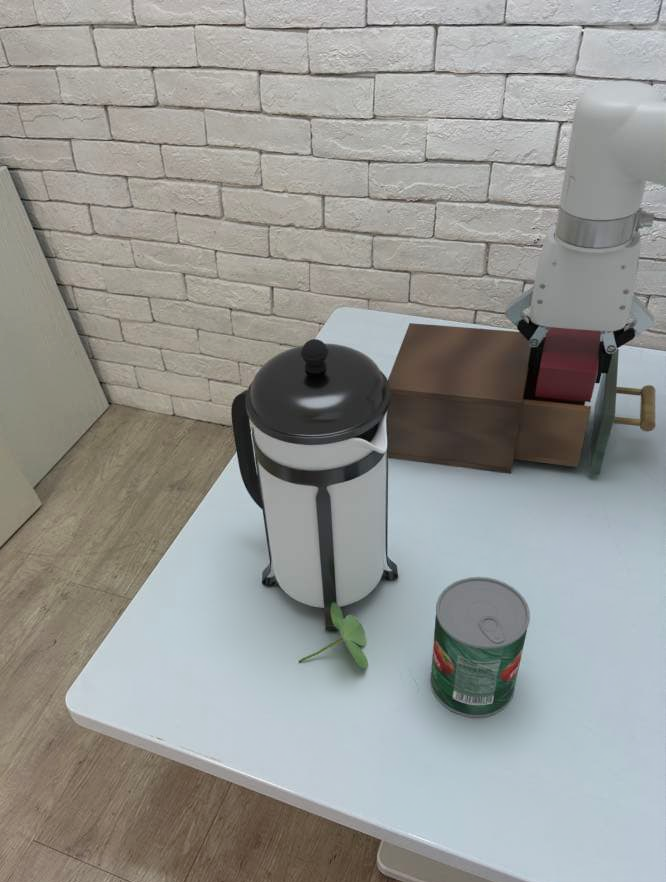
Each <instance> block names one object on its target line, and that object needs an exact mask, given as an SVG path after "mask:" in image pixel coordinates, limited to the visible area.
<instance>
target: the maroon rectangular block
mask: <svg viewBox="0 0 666 882" xmlns="http://www.w3.org/2000/svg"><path fill="white" fill-rule="evenodd" d="M601 340H602V336H601V332H600V331H591V330H578V329H565V328H553V327H551V328H550V329H549V331H548V332H547V334H546V335H545V343H544V349H543V352H542V357H541V363H540V369H539V374H538V380H537V386H536V392H535V396H537V397H546V398H556V399H565V400H575V401H584V402H585V403H590V402H591V401H592V398H593V394H594V390H595V385H596V383H595V381H596V377H597V371H598V359H599V347H600V341H601Z"/></svg>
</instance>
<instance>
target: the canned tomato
mask: <svg viewBox="0 0 666 882" xmlns="http://www.w3.org/2000/svg"><path fill="white" fill-rule="evenodd" d="M530 621H531V612H530V608H529V605H528V602H527V601H526V599H525V597H524V596H523V595H522V594H521V593H520V592H519V591H518V590H517V589H516V588H514V587H513V586H511V585H510V584H508V583H506V582H504V581H502V580H498V579H495V578H490V577H483V576H475V577H474V576H473V577H466V578H461V579H459V580H457V581H454V582H452V583H451V584H449V585H447V586H446V587H445V588H444V589H443V590H442V592H441V593H440V595H439V596H438V598H437V601H436V604H435V622H434V632H433V645H432V655H431V656H432V658H431V668H430V669H431V670H430V675H429V682H430V688H431V690H432V693H433V695H434V696H435V698H436V699H437V701H438V702H439V703H440V704H441V705H442V706H443V707H445V708H446V709H448V710H449V711H451V712H453V713H455V714H457V715H460V716H464V717H469V718H487V717H491V716H493V715H495V714H498V713H500V712H501V711H502V710H504V709H505V708H506V707H507V706H508V705H509V704H510V702H511V701H512V699H513V697H514V693H515V687H516V683H517V678H518V674H519V669H520V665H521V661H522V656H523V651H524V646H525V641H526V638H527V637H526V636H527V633H528V628H529V625H530Z"/></svg>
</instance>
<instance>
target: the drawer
mask: <svg viewBox="0 0 666 882" xmlns="http://www.w3.org/2000/svg"><path fill="white" fill-rule="evenodd" d="M619 350H620V349H619V348H617V351H616V352H615V353H613V354H612V358H611V363H610V367H609V371H608V374H606V373H602V375H601V379H600V383H599V384H598V385H599V386H598V390H597V395H596V399H595V403H594V408H593V419H592V430H591V443H590V452H589V453H590V455H589V464H588V465H589V467H588V475H592V476H600V475H601V471H602V466H603V463H604V460H605V455H606V452H607V448H608V444H609V440H610V436H611V432H612V428H613V424H615V425H616V424H617V425H624V426H625V425H626V426H635V427H639V428H640V430H641V431H643V432H652V431H653V430H654V429H655V428H656V410H657V409H656V407H657V406H656V405H657V404H656V403H657V401H656V399H657V397H656V388H655V387H654V386H653V385H650V384H648V385H644V386H643V387H642V388H635V387H634V388H633V387H625V386H618V369H619V368H618V367H619V353H620V352H619ZM533 370H534V367H530V366H529V370H528V375H527V381H526V386H525V392H524V397H523V402H522V409H521V415H520V421H519V428H518V434H517V441H516V447H515V453H514V460H516V461H517V460H519V461H524V462H525V461H526V462H535V463H542V464H549V465H550V464H551V465H558V466H567V467H575V468H578V467H579V463H580V458H581V455H582V450H583V445H584V442H585V437H586V432H587V429H588V424H589V420H590V415H591V411H592V406H591V405H586V402H584V401H575V400H565V399H556V398H546V397H537V396H535V392H536V386H537V380H538V376H537V378H536V377H532V376H533ZM617 394H619V395H629V396H640V399H639V400H640V401H639V402H640V403H639V408H640V409H639V418H632V417H624V416H623V417H622V416H616V405H617V404H616V403H617Z"/></svg>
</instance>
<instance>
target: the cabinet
mask: <svg viewBox="0 0 666 882" xmlns="http://www.w3.org/2000/svg"><path fill="white" fill-rule="evenodd" d="M405 331H406V332H405V334H404V336H403V339H402V342H401V345H400V347H399V350H398V352H397V355H396V358H395V360H394V363H393V366H392V368H391V371H390V374H389V376H388V378H387V380H388V382H389V385H390V390H391V399H390V405H389V408H388V410H387V419H388V459H396V460H404V461H412V462H421V463H427V464H435V465H436V464H437V465H443V466H450V467H459V468H464V469H465V468H466V469H474V470H481V471H491V472H496V473H497V472H498V473H505V474H512V472H513V467H514V461H515V459H514V453H515V447H516V441H517V434H518V428H519V421H520V415H521V409H522V402H523V397H524V392H525V386H526V381H527V375H528V370H529V366H528V362H529V355H530V349H531V346H530V345H529V341H528V340H527V339H526V338H525V337H524V336H523V335H522V334H521V333H520V332H519V331H517V330H515V331H514V330H501V329H490V328H479V327H462V326H450V325H438V324H428V323H427V324H426V323H413V322H409V323H408V326H407V329H406V330H405Z"/></svg>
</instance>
